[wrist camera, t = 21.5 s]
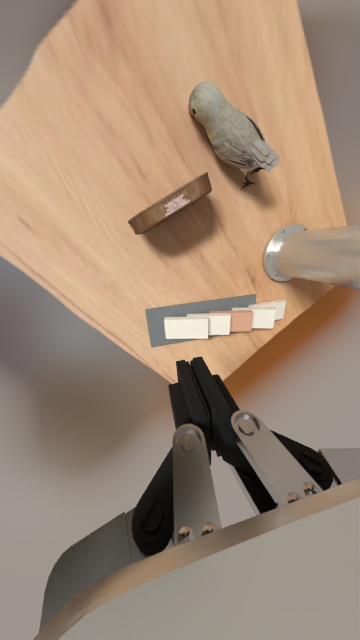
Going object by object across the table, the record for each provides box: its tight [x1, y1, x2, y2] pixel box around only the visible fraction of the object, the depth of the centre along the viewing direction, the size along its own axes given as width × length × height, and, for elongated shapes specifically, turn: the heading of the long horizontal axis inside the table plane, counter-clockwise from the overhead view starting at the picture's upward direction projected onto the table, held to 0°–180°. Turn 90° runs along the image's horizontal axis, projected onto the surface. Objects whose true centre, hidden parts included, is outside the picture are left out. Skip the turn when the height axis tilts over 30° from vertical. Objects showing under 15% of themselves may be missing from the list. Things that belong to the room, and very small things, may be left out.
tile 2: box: [187, 313, 231, 335], centre depth 41 cm, size 2×5×10 cm
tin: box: [128, 172, 212, 235], centre depth 29 cm, size 15×3×8 cm, turn 118°
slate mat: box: [145, 294, 256, 347], centre depth 43 cm, size 28×10×1 cm, turn 94°
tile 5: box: [248, 300, 286, 320], centre depth 45 cm, size 2×5×10 cm
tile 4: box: [232, 307, 276, 328], centre depth 42 cm, size 2×5×10 cm
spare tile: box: [210, 310, 254, 332], centre depth 42 cm, size 2×5×10 cm
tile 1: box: [164, 316, 208, 339], centre depth 40 cm, size 2×5×10 cm
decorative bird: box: [188, 81, 279, 190], centre depth 27 cm, size 5×16×8 cm, turn 55°
